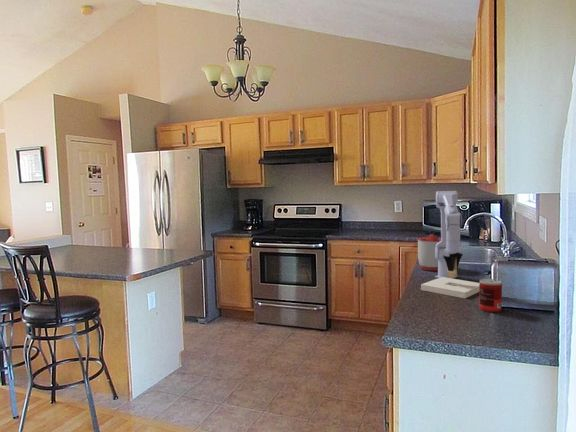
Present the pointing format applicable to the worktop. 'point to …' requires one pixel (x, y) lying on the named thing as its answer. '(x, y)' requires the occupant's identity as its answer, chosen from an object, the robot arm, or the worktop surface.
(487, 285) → the canned food
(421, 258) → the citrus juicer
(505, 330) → the worktop surface
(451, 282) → the holder board
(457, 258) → the robot arm
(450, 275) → the maple dowel
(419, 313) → the worktop surface
